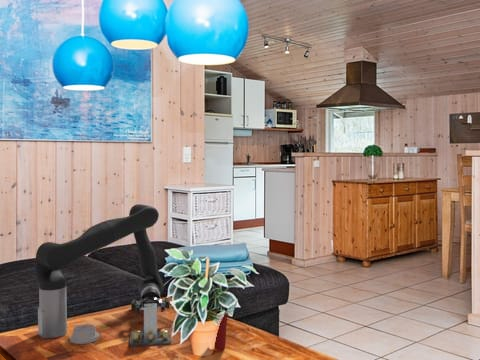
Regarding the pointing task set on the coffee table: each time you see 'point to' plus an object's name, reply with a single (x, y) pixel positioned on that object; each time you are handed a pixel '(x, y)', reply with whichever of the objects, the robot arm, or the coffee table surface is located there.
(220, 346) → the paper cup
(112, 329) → the coffee table surface
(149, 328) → the block
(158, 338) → the pin plate
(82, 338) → the mechanical component
